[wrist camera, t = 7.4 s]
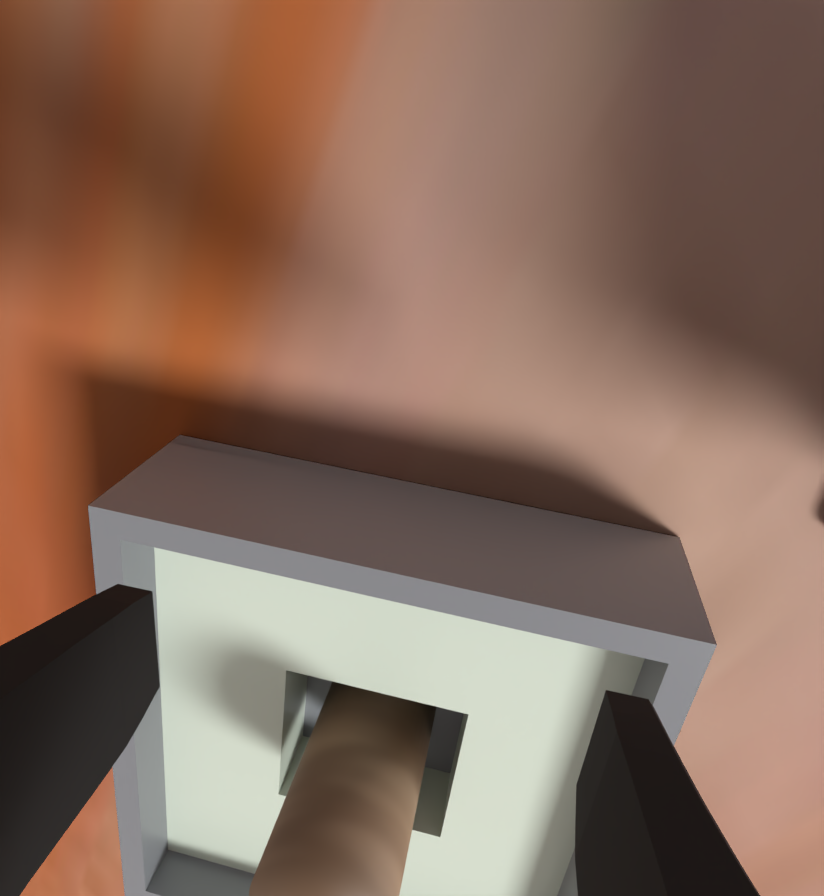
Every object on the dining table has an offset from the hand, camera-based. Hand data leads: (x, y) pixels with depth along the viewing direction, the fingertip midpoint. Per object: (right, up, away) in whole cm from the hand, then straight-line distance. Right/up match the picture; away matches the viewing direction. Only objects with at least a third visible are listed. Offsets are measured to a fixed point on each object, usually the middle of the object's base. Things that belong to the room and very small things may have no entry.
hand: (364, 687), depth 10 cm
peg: (0, -5, +12) cm, 13 cm away
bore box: (0, -4, +12) cm, 13 cm away
